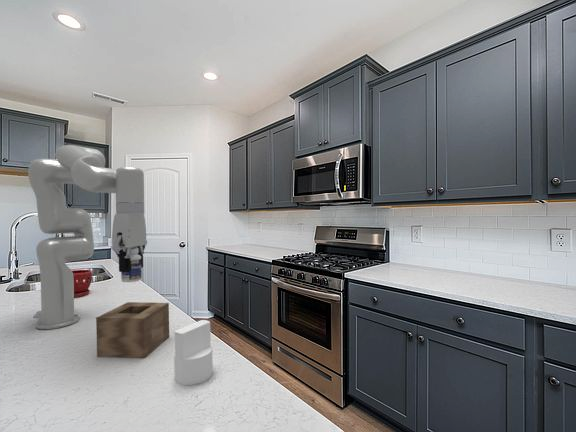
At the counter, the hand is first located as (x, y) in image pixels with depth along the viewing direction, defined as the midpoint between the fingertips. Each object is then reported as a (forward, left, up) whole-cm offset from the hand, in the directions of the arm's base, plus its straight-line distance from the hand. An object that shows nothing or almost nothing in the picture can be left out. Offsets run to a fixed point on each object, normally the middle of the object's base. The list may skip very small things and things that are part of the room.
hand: (131, 269), depth 88 cm
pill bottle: (0, 0, -4) cm, 4 cm away
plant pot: (-62, +51, -24) cm, 84 cm away
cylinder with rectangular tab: (+25, -14, -24) cm, 37 cm away
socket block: (+1, 0, -23) cm, 23 cm away
